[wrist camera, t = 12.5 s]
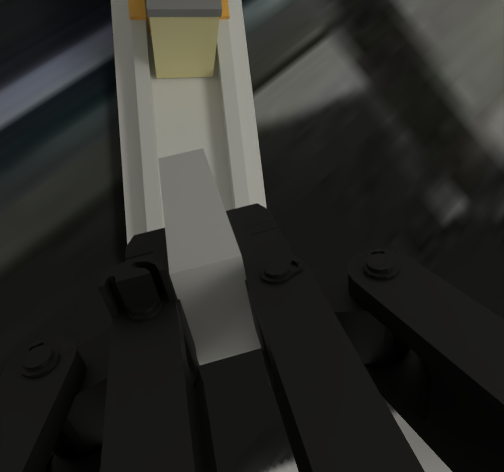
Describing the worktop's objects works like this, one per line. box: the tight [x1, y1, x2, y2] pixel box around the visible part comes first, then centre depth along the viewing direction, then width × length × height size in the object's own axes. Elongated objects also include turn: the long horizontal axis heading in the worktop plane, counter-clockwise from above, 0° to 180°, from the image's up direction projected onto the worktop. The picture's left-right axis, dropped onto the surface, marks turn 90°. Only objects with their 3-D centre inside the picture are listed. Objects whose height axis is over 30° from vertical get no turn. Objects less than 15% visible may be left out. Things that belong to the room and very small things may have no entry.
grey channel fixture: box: [111, 0, 266, 245], centre depth 35 cm, size 12×28×10 cm, turn 6°
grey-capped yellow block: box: [146, 0, 222, 78], centre depth 35 cm, size 5×5×9 cm
